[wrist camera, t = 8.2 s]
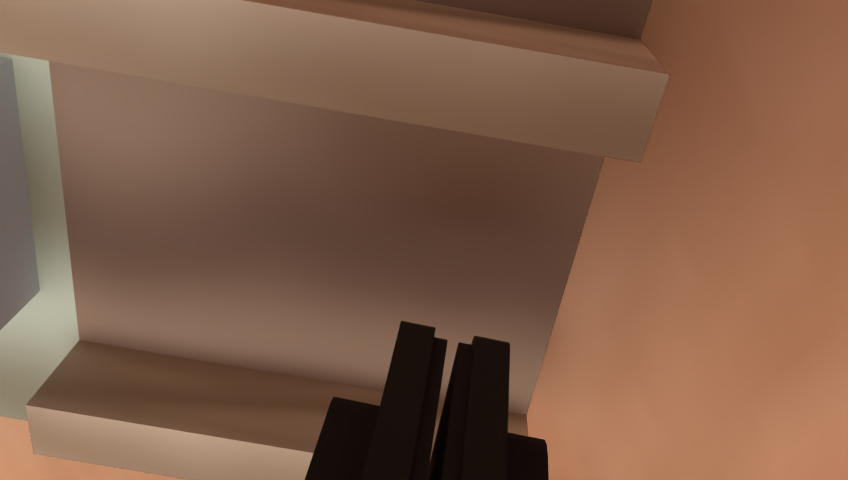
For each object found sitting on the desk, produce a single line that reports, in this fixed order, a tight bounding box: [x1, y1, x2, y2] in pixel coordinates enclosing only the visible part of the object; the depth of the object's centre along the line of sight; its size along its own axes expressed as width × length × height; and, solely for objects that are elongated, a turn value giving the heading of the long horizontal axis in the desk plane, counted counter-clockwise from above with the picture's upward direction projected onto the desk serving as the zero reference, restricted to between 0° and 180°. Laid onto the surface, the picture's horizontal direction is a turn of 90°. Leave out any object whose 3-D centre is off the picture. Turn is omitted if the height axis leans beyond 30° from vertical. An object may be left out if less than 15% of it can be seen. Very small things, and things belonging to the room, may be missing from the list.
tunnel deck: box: [0, 0, 670, 480], centre depth 17 cm, size 15×27×6 cm, turn 81°
